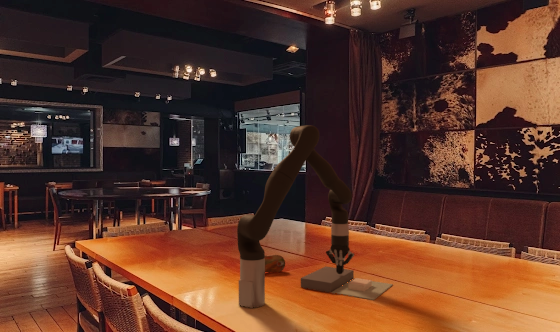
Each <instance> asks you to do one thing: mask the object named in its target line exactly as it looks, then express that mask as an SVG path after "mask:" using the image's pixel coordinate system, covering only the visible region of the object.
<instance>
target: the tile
mask: <svg viewBox="0 0 560 332" xmlns="http://www.w3.org/2000/svg"><path fill="white" fill-rule="evenodd" d="M372 281H373V280H372V279H371V280H370V279H366V278H365V279H364V278H359V277H355V279H354V280H352V281H351V282H349V283H348V289H353V290H359V291H366V290H367V289H368V288H370V287H371V286H372Z"/></svg>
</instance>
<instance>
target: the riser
mask: <svg viewBox="0 0 560 332" xmlns="http://www.w3.org/2000/svg"><path fill="white" fill-rule="evenodd" d="M354 271H355V270H353V269H347V268H344V272H343V273H342V274H338V273H337V272H336V267H333V266H326V265H325V266H323V267H321V268H319V269H316V270H315V271H312V272H311V273H308V274H306V275H305V276H302V277H300V288H301V287H303V289H307V288H308V290H312V289H313V291H319V292H324V291H325V292H324V293H329V292H330V293H331V294H332V292H333V291H334V290H336V289H338V288H339V287H341V286H342V285H344V284H346V283H347V282H349V281H350V280H352V279H354Z"/></svg>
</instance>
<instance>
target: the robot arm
mask: <svg viewBox="0 0 560 332" xmlns="http://www.w3.org/2000/svg"><path fill="white" fill-rule="evenodd" d="M319 140H320V131H319V129H318V127H316V126H314V125H310V124H309V125H306V124H305V125H299V126H298V125H297V126H294V127H293V128H292V129H291V130H290V133H289V141H290V143H291V145H292V146H293V149H292V150H291V151H290V152H289V154H287V155H286V156H285V157H284V158H283V159H282V160H281V161H280V162H279V163H277V165H275V167H273V170H272V172H271V173H270V175H269V177H268V179H267V180H266V183H265V185H264V186H265V187H264V193H263V194H264V195H263V200H262V203H261V204H260V206H259V207H258V209H257V210H256V213H255V214H249V213H248V214H244V215H242V216H241V217H240V219H239V220H238V223H237V228H236V229H237V231H236V233H237V250H238V253H239V280H238V306H239V305H241V306H240V307H243V306H246V307H245V308H248V307H250V308H249V309H253V307H254V308H260V307H263V306H264V305H265V304H266V300H265V299H266V295H265V294H266V293H265V291H266V290H265V289H266V285H265V284H266V276H265V256H266V253H265V250H264V248H263V246H262V245H261V243H260V241H263V239H264V238H266V236H267V235H268V234H269V231H270V229H271V227H272V224H273V222H274V219H275V218H276V215H277V213H278V211H279V209H280V208H281V206H282V204H283V201H284V200H285V198H286V196H287V195H288V193H289V192H290V189H291V187H292V186H293V184H294V183H295V180H296V178H297V176H298V175H299V173H300V171H301V169H302V168H303V167H304V164H305V162H307V163H308V164H309V166H310V167H311V168H312V169H313V171H314V172H315V174H316V175H317V177H318V179H319V180H320V181H321V183H322V185H323V186H324V187H325V188H326V189H328V190H329V192H328V194H327V198H328V204H329V209H330V211H331V227H330V230H331V231H330V237H331V238H330V244H331V245H330V249H328V250H326V252H325V254H326V255H327V256H328V258H329V260H330V262H332V264H334V265H336V266H335V268H336V272H337V273H338V274H342V273H343V272H344V269H345V266H346V265H348V264H349V263H350V262H351V260H353V257H355V253H354V252H352V251H351V249H350V247H349V245H350V239H349V238H350V228H349V212H348V210H347V209H345V208H343V205H348V204H349V203H350V202H351V201H352V198H353V195H352V191H351V190H350V188H349V186H348V185H346V183H345V182H344V181H343V180H342V179H341V178H339V176H338V174H337V173H336V171H335V170H334V168H333V166H332V165H331V164H330V163H329V162H328V160H326V159H325V158H323V157H322V155H321V154H319V153H318V151H316V149H315V148H316V146H317V145H318V143H319ZM346 256H347V257H346ZM259 306H260V307H259Z"/></svg>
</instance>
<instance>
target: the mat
mask: <svg viewBox="0 0 560 332" xmlns="http://www.w3.org/2000/svg"><path fill="white" fill-rule="evenodd" d="M354 279H356V277H355V278H354ZM354 279H353V280H354ZM351 281H352V280H351ZM351 281H349V282H351ZM349 282H348V283H349ZM348 283H346V284H344V285H343V286H341V287H339V288H338V289H336V290H334V291H333V292H331V294H335V293H337V294H336V295H341V294H343V295H342V296H346V295H348V296H347V297H352V296H354V298H358V297H359V298H358V299H363V298H364V300H370V301H374V300H376V299H377V298H378V297H379V296H381V295H383V294H384V293H385V292H386V291H387V290H389V289H390V288H391V287H393V284H394V283H387V282H380V281H373V280H372V286H371V287H370V288H368V289H367V290H366V291H359V290H353V289H348Z"/></svg>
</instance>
